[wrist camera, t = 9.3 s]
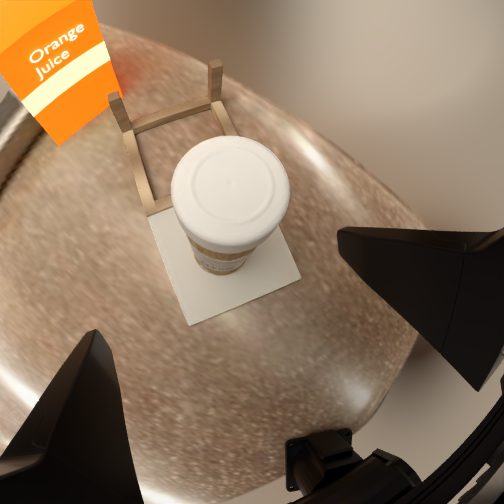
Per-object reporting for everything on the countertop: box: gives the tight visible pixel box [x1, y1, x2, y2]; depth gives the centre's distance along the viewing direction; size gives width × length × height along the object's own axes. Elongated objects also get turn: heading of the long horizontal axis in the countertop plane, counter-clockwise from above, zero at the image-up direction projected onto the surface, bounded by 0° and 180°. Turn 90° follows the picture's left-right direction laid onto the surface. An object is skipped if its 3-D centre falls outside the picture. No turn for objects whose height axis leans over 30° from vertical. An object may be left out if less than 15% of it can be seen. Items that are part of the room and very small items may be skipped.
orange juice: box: [0, 0, 123, 146], centre depth 15 cm, size 8×9×20 cm
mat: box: [148, 207, 301, 326], centre depth 24 cm, size 10×10×1 cm
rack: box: [107, 59, 238, 217], centre depth 22 cm, size 10×10×6 cm
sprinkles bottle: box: [171, 136, 290, 276], centre depth 17 cm, size 5×5×13 cm
